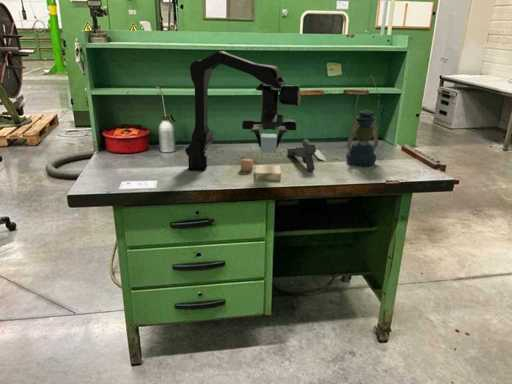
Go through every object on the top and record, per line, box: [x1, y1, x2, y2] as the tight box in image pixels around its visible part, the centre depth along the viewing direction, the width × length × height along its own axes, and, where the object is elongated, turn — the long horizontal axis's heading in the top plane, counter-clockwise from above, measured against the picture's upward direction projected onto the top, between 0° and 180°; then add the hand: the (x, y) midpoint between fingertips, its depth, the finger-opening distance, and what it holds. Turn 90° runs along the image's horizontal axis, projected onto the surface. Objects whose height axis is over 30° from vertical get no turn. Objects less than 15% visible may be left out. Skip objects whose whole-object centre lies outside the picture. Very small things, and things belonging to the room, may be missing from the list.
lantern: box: [345, 74, 380, 168], centre depth 166 cm, size 14×12×35 cm
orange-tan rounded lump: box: [240, 158, 254, 173], centre depth 160 cm, size 4×4×4 cm
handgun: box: [286, 144, 316, 172], centre depth 170 cm, size 4×24×10 cm, turn 16°
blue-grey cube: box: [260, 133, 278, 154], centre depth 150 cm, size 6×6×6 cm
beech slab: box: [254, 164, 282, 181], centre depth 154 cm, size 9×9×2 cm
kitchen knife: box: [302, 138, 327, 162], centre depth 187 cm, size 29×3×5 cm
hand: (268, 147), depth 151 cm, fingers closed on blue-grey cube, 5 cm apart
